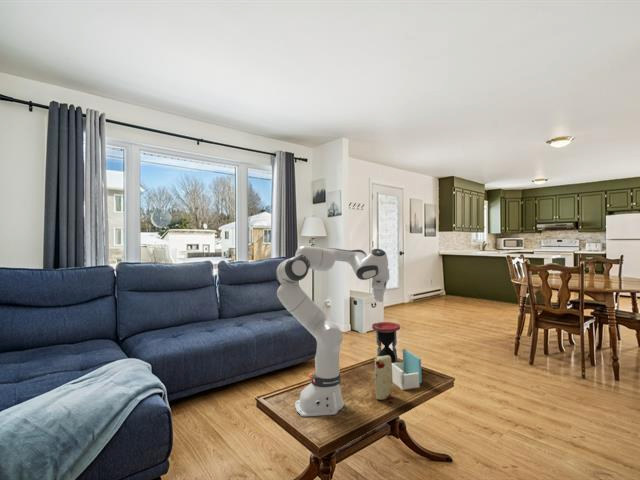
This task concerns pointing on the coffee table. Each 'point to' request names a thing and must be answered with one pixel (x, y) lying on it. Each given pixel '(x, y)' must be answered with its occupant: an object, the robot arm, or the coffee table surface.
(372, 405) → the coffee table surface
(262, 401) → the coffee table surface
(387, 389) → the food model
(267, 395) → the coffee table surface
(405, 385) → the white open box
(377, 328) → the hourglass
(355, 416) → the coffee table surface
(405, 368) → the box lid
